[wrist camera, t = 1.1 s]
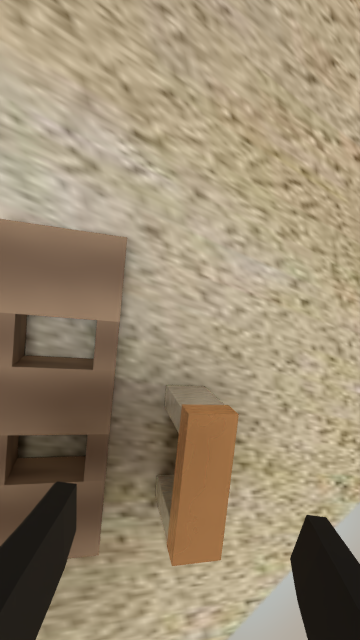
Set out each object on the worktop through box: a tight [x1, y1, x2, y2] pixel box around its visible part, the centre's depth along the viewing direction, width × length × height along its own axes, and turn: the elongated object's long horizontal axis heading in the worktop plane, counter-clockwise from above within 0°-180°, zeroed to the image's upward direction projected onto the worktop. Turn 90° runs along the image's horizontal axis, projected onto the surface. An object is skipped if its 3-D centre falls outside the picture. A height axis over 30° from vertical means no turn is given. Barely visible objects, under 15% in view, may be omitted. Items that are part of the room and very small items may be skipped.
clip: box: [155, 385, 239, 566], centre depth 21 cm, size 9×3×6 cm, turn 174°
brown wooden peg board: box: [0, 219, 127, 558], centre depth 20 cm, size 20×7×3 cm, turn 174°
